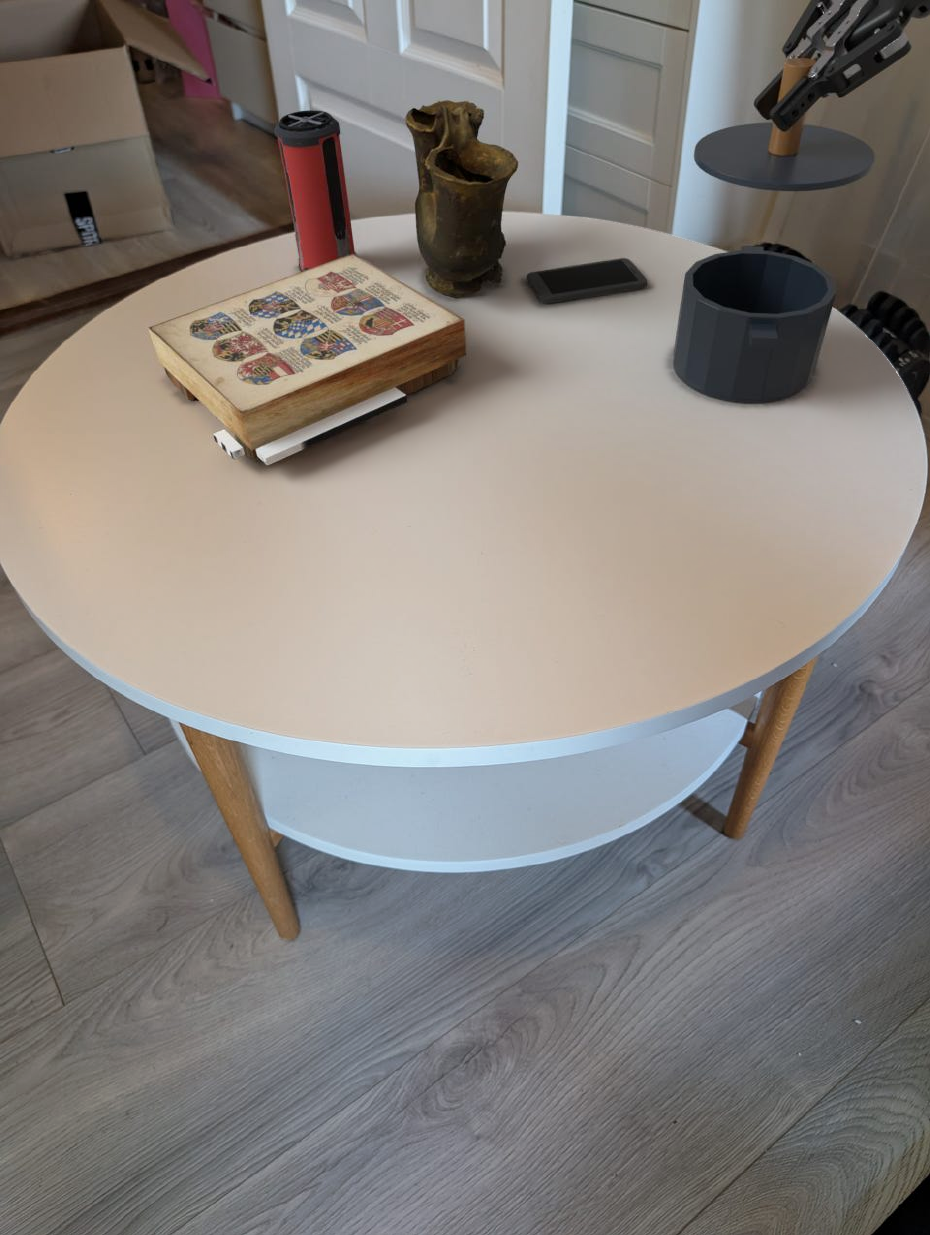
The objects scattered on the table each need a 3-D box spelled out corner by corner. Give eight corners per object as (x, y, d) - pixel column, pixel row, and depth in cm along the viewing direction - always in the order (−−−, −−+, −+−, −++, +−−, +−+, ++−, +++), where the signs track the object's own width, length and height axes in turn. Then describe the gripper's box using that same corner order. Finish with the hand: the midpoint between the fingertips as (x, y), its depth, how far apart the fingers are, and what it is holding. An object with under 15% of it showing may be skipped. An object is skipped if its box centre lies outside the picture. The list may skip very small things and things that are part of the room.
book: (253, 490, 83) (483, 384, 94) (237, 434, 79) (481, 329, 90) (150, 386, 97) (360, 304, 108) (131, 333, 93) (353, 253, 104)
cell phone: (524, 278, 111) (524, 272, 110) (627, 262, 113) (628, 256, 112) (541, 304, 106) (541, 298, 105) (649, 287, 108) (650, 281, 107)
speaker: (328, 286, 112) (304, 133, 99) (287, 271, 115) (258, 122, 102) (369, 264, 116) (351, 114, 103) (328, 250, 119) (306, 103, 106)
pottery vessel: (404, 241, 120) (390, 78, 106) (481, 232, 122) (477, 68, 107) (437, 328, 103) (425, 147, 89) (526, 316, 104) (528, 135, 90)
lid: (905, 186, 75) (938, 77, 69) (733, 208, 74) (752, 99, 68) (819, 128, 86) (842, 30, 80) (668, 146, 84) (679, 48, 78)
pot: (802, 324, 100) (823, 241, 94) (822, 422, 87) (848, 334, 80) (673, 318, 103) (684, 237, 96) (672, 414, 89) (686, 327, 82)
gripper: (878, -122, 72) (712, 65, 79) (980, -98, 62) (781, 112, 70) (916, -48, 76) (756, 123, 83) (1018, -14, 66) (826, 175, 74)
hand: (768, 117), depth 76 cm, fingers closed on lid, 2 cm apart
